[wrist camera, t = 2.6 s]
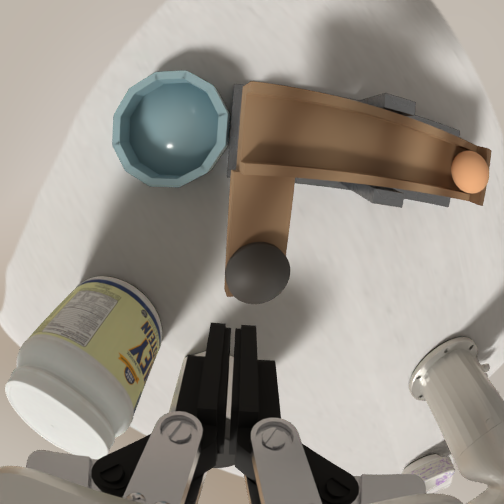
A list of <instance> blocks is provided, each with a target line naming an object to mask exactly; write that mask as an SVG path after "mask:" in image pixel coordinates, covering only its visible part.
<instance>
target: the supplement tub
mask: <svg viewBox="0 0 504 504" xmlns="http://www.w3.org/2000/svg"><path fill="white" fill-rule="evenodd" d="M161 342H162V326H161V322H160V319H159V316H158V314H157V312H156V310H155V308H154V306H153V305H152V303H151V302H150V301H149V300H148V298H147V297H146V296H145V295H144V294H143V293H142V292H140V291H139V290H138V289H137V288H135V287H134V286H132V285H130V284H129V283H127V282H125V281H122V280H120V279H117V278H112V277H106V276H99V277H93V278H90V279H87V280H85V281H83V282H82V283H80V284H79V285H78V286H77V287H76V288H75V289H74V290H73V291H72V292H71V293H70V294H69V295H68V296H67V297H66V298H65V299H64V300H63V301H62V303H61V304H60V305H59V306H58V307H57V308H56V309H55V310H54V311H53V312H52V313H51V314H50V315H49V316H48V317H47V318H46V319H45V320H44V321H43V323H42V324H41V325H40V326H39V327H38V328H37V329H36V330H35V331H34V332H33V334H32V335H31V336H30V337H29V338H28V339H27V340H26V341H25V342H24V343H23V345H22V347H21V348H20V351H19V353H18V356H17V368H16V369H14V370H13V372H12V374H11V377H10V379H9V381H8V382H7V383H6V386H5V391H6V395H7V397H8V400H9V402H10V403H11V405H12V407H13V408H14V410H15V411H16V412H17V414H18V415H19V416H20V417H21V418H22V419H23V420H24V421H25V422H26V424H27V425H29V426H30V427H31V428H32V429H33V430H34V431H36V432H37V433H38V434H39V435H40V436H42V437H43V438H45V439H46V440H47V441H49V442H50V443H52V444H54V445H55V446H57V447H59V448H61V449H63V450H65V451H67V452H69V453H71V454H74V455H79V456H89V457H90V458H91V459H100V458H102V457H104V456H106V455H108V452H109V450H110V448H111V447H112V446H113V444H114V442H115V438H116V437H118V436H120V435H121V434H123V433H124V432H125V431H126V430H127V429H128V427H129V426H130V424H131V422H132V420H133V416H134V413H135V410H136V407H137V405H138V402H139V399H140V397H141V394H142V391H143V389H144V386H145V384H146V381H147V378H148V376H149V373H150V371H151V368H152V366H153V363H154V360H155V358H156V355H157V353H158V351H159V349H160V346H161Z"/></svg>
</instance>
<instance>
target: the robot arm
mask: <svg viewBox="0 0 504 504" xmlns="http://www.w3.org/2000/svg"><path fill="white" fill-rule="evenodd" d="M230 338H231V328H226V324H221V323H211V325H210V331H209V337H208V343H207V348H206V354H205V356H195V355H188V357H187V361H186V365H185V369H184V374H183V378H182V383H181V387H180V392H179V396H178V401H177V405H176V410H175V412H170V413H167V414H165V415H163V416H162V417H161V418H159V420H158V421H157V423H156V425H155V427H154V429H153V431H152V433H151V434H150V435H148V436H146V437H144V438H142V439H140V440H138V441H136V442H134V443H132V444H130V445H128V446H126V447H123V448H121V449H119V450H117V451H115V452H113V453H110V454H108V455H106V456H104V457H102V458H100V459H91V458H90V457H89V456H79V455H71V454H64V453H58V452H52V451H46V450H37V451H34V452H33V453H32V454H31V455H30V456H29V457H28V460H27V465H26V467H19V466H2V467H0V504H198V501H199V498H200V495H201V491H202V488H203V484H204V480H205V477H206V472H207V471H208V470H210V469H211V468H213V467H214V466H216V461H217V460H218V454H224V443H225V426H226V410H227V395H228V379H229V358H230ZM477 352H478V350H477V346H476V344H475V343H474V342H473V341H472V340H471V339H470V338H467V337H458V338H455V339H451V340H449V341H447V342H445V343H443V344H442V345H440V346H438V347H437V348H436V349H434V350H433V351H432V352H430V353H429V354H428V355H427V356H426V357H425V358H424V359H423V360H422V361H421V362H420V364H419V365H418V366H417V368H416V369H415V371H414V372H413V374H412V376H411V379H410V382H409V390H410V392H411V394H412V396H413V397H414V398H415V399H417V400H421V401H427V403H428V405H429V407H430V409H431V412H432V414H433V416H434V418H435V420H436V422H437V424H438V426H439V428H440V430H441V432H442V434H443V437H444V439H445V441H446V443H447V445H448V448H449V450H450V452H451V454H452V457H453V459H454V461H455V464H456V466H457V468H458V470H459V472H460V473H461V475H462V476H463V477H464V478H466V479H468V480H471V481H475V482H480V483H484V484H487V485H488V488H487V489H486V490H485V491H484V492H483V493H481V494H480V495H479V496H477V497H476V498H474V499H473V500H471V501H469V502H468V503H466V504H504V401H503V399H502V398H501V396H500V395H499V393H498V392H497V390H496V389H495V387H494V386H493V385H492V383H491V382H490V380H489V379H488V375H487V373H484V372H488V371H489V369H490V366H489V364H483V365H481V364H480V363H479V361H478V360H477V359H476V358H477ZM229 455H235V467H236V468H237V469H238V470H240V471H241V472H242V473H243V474H244V479H245V484H246V489H247V495H248V500H249V504H463V503H462V502H461V501H460V500H458V499H457V498H455V497H453V496H450V495H445V494H434V493H432V494H426V485H425V482H424V481H423V479H422V478H421V477H419V476H417V475H415V474H393V475H365V474H362V476H352V475H351V474H350V473H348V472H346V471H345V470H343V469H341V468H340V467H338V466H336V465H335V464H333V463H331V462H330V461H328V460H327V459H325V458H323V457H322V456H320V455H319V454H317V453H316V452H314V451H313V450H311V449H309V448H308V447H306V446H305V445H303V444H302V443H301V439H300V436H299V433H298V431H297V429H296V428H295V426H293V425H292V424H291V423H290V422H288V421H286V420H284V419H281V414H280V404H279V394H278V384H277V374H276V365H275V361H270V360H257V338H256V326H251V325H241V329H237V328H236V330H235V346H234V363H233V380H232V399H231V418H230V439H229Z"/></svg>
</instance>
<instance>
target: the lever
mask: <svg viewBox="0 0 504 504" xmlns="http://www.w3.org/2000/svg"><path fill="white" fill-rule="evenodd" d="M463 151H473V152H476V153H478V154H479V155H481V156H482V157H483V159H484V160H485V161H486V163H487V166H488V169H489V166H490V158H491V150H490V149H488V148H484V147H480V146H476V145H474V144H472V143H470V142H468V141H466V140H463V139H461V138H459V137H457V136H455V135H452V134H450V133H448V132H445V131H443V130H440V129H438V128H436V127H433V126H431V125H428V124H425V123H423V122H420V121H417V120H415V119H412V118H409V117H406V116H403V115H400V114H397V113H394V112H391V111H388V110H385V109H382V108H379V107H375V106H372V105H368V104H365V103H361V102H358V101H354V100H350V99H346V98H342V97H338V96H334V95H329V94H325V93H320V92H315V91H310V90H305V89H300V88H295V87H289V86H283V85H276V84H269V83H262V82H254V81H251V82H249V83H248V84H246V85H245V86H243V90H242V102H241V114H240V126H239V139H238V152H237V165H236V170H231V178H230V194H229V210H228V227H227V246H226V266H225V288H224V289H225V292H226V295H227V297H232V296H234V297H235V298H237V299H238V300H240V301H242V302H244V303H248V304H260V303H264V302H267V301H269V300H272V299H273V298H275V297H276V296H277V295H279V294H280V293H281V292H282V290H283V289H284V288H285V286H286V285H287V283H288V280H289V276H290V265H289V262H288V259H287V258H286V250H287V242H288V234H289V226H290V218H291V210H292V201H293V192H294V184H295V178H306V179H318V180H329V181H339V182H349V183H357V184H366V185H374V186H382V187H389V188H396V189H403V190H410V191H416V192H422V193H428V194H434V195H440V196H445V197H451V198H456V199H461V200H466V201H470V202H472V203H475V204H478V205H481V206H483V202H484V196H485V191H486V186H487V185H486V186H485V188H484V189H483V190H481V191H480V192H478V193H473V194H472V193H466V192H464V191H462V190H461V189H460V188H459V187H458V186H457V185H456V184H455V182H454V180H453V178H452V174H451V166H452V162H453V160H454V158H455V157H456V156H457V155H458V154H459V153H461V152H463Z"/></svg>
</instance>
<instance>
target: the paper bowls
mask: <svg viewBox="0 0 504 504" xmlns="http://www.w3.org/2000/svg"><path fill="white" fill-rule="evenodd" d="M454 472H455V469H454V466H453V464H452V462H451V459H450V457H447V456H446V457H441V456H439V455H437V454H432V455H428V456H425V457H423V458H420V459H418V460H416V461H415V462H413V463H411V464H410V465H408V466H407V467H406V468H405V469H404V470H403V472H402V474H415V475H417V476H419V477H421V478H422V479H423V481H424V482H425V485H426V492H427V491H429V490H431V489H433V488H435V487H437V486H438V485H440V484H441V483H443V482H444V481H446V480H447V479H448V478H450V477H451V476H452V475H453V474H454Z"/></svg>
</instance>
